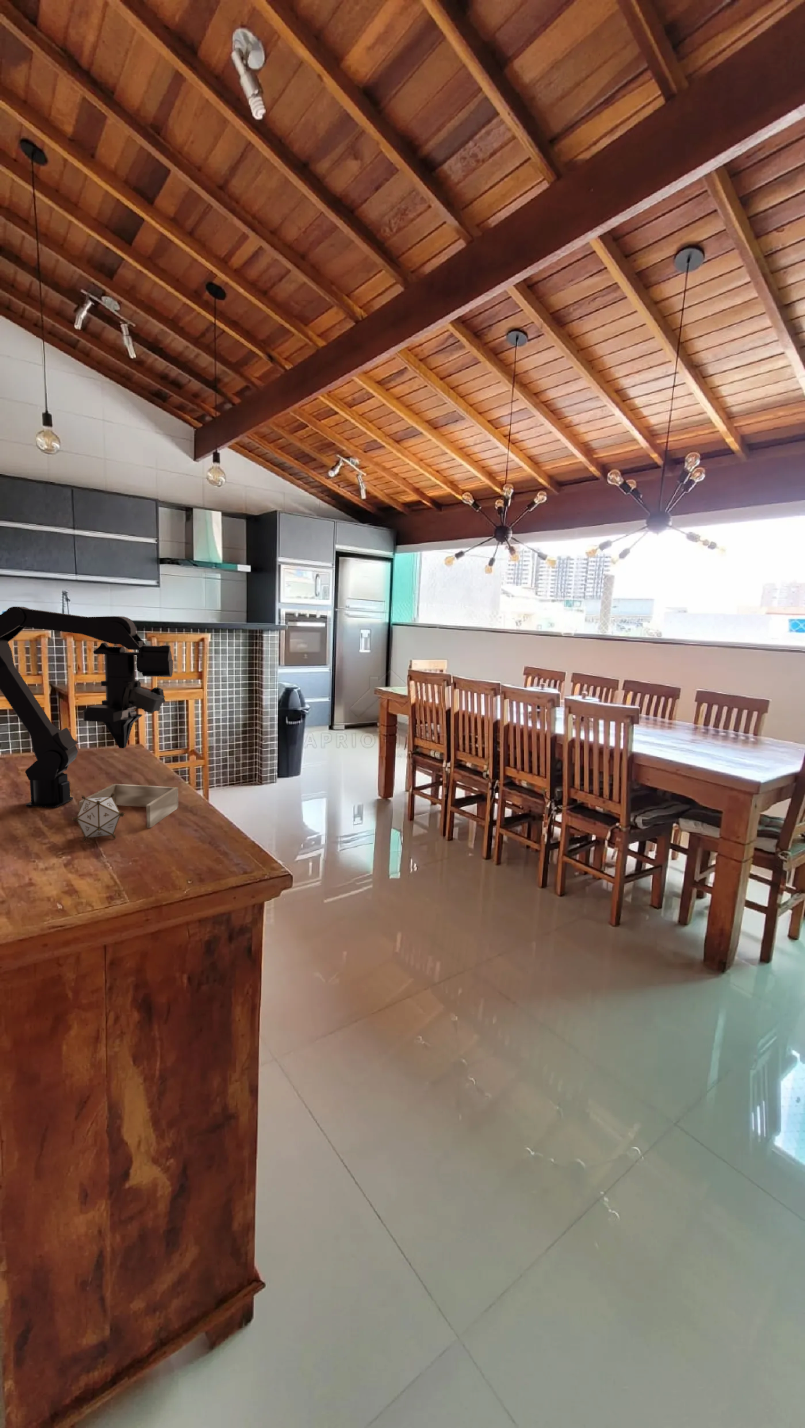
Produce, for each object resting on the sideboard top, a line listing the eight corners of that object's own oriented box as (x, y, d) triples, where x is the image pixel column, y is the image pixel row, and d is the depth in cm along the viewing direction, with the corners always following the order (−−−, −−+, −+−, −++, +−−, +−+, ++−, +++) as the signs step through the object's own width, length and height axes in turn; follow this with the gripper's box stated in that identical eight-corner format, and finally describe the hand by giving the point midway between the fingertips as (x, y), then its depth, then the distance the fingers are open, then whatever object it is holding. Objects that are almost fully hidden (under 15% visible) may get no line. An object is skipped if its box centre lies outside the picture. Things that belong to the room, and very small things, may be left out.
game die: (105, 860, 106) (104, 829, 99) (61, 841, 106) (58, 809, 99) (134, 823, 113) (135, 792, 106) (93, 806, 112) (92, 773, 106)
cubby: (79, 823, 113) (78, 801, 112) (114, 804, 125) (113, 783, 125) (150, 827, 112) (149, 805, 112) (178, 807, 125) (177, 787, 124)
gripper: (135, 682, 114) (137, 759, 116) (176, 674, 132) (177, 741, 134) (80, 679, 114) (83, 756, 116) (128, 671, 132) (130, 738, 135)
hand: (122, 748), depth 125 cm, fingers closed
